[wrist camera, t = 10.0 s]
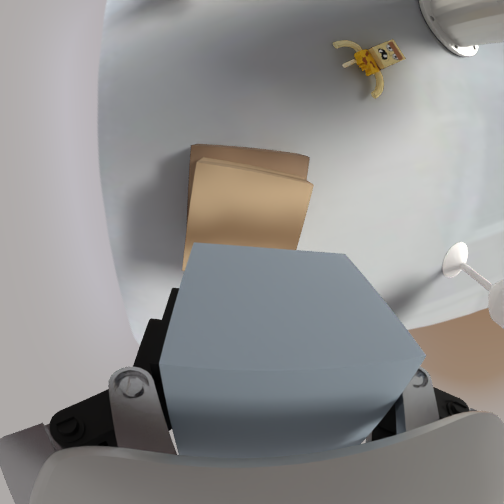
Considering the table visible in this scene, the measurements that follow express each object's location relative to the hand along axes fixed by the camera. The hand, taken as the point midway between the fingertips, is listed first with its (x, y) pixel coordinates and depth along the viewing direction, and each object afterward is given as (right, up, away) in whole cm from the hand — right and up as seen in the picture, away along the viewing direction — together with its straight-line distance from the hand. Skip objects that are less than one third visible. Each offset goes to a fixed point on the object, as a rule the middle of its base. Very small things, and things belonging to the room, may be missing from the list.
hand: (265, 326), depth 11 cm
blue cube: (0, 0, +1) cm, 1 cm away
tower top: (-1, +7, +15) cm, 17 cm away
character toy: (+12, +26, +14) cm, 32 cm away
